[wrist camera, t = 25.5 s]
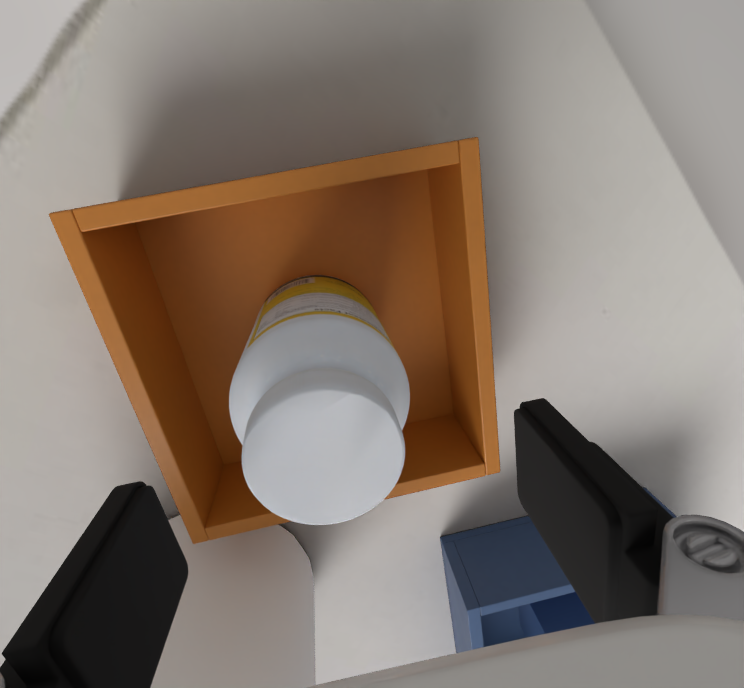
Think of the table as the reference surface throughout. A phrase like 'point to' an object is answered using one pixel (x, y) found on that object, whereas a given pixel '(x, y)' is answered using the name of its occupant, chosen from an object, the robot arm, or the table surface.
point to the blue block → (553, 615)
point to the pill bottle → (319, 403)
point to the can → (242, 614)
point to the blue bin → (499, 579)
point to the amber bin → (267, 273)
